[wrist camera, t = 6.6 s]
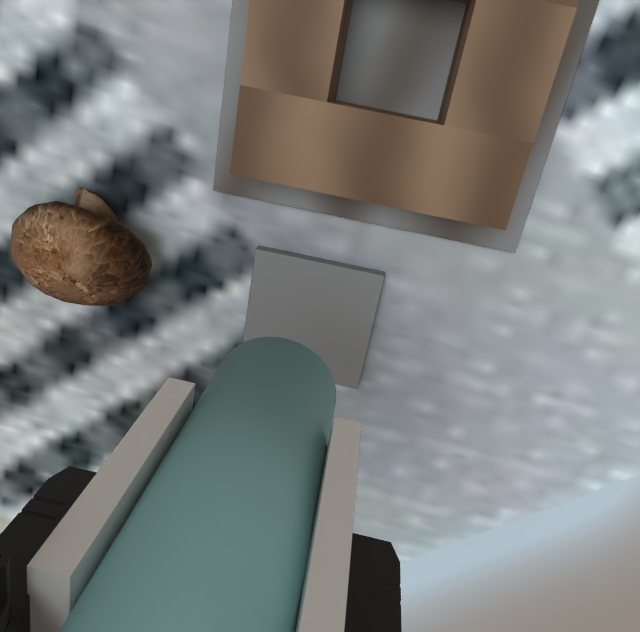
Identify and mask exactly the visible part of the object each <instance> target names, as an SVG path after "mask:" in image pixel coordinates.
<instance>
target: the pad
mask: <svg viewBox="0 0 640 632" xmlns="http://www.w3.org/2000/svg"><path fill="white" fill-rule="evenodd" d="M384 276H385V272H382V271H377V270H373V269H368V268H363V267H358V266H354V265H349V264H344V263H339V262H335V261H330V260H325V259H320V258H316V257H311V256H306V255H301V254H297V253H292V252H287V251H282V250H278V249H273V248H268V247H263V246H258V247H257V248H256V251H255V258H254V266H253V273H252V280H251V287H250V294H249V302H248V309H247V316H246V323H245V330H244V338H243V343H244V342H246V341H248V340H251V339H255V338H260V337H280V338H286V339H289V340H293V341H295V342H298V343H300V344H302V345H304V346H306V347H307V348H309V349H310V350H312V351H313V352H314V353H316V354H317V355H318V356H319V357H320V358H321V359H322V361H323V362H324V363H325V364H326V366H327V367H328V369H329V371H330V372H331V375H332V377H333V380H334V383H335V384H339V385H343V386H348V387H352V388H357V389H358V385H359V381H360V376H361V372H362V368H363V364H364V360H365V356H366V351H367V347H368V343H369V339H370V335H371V331H372V326H373V322H374V318H375V314H376V310H377V306H378V301H379V297H380V293H381V289H382V285H383V280H384Z"/></svg>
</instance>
